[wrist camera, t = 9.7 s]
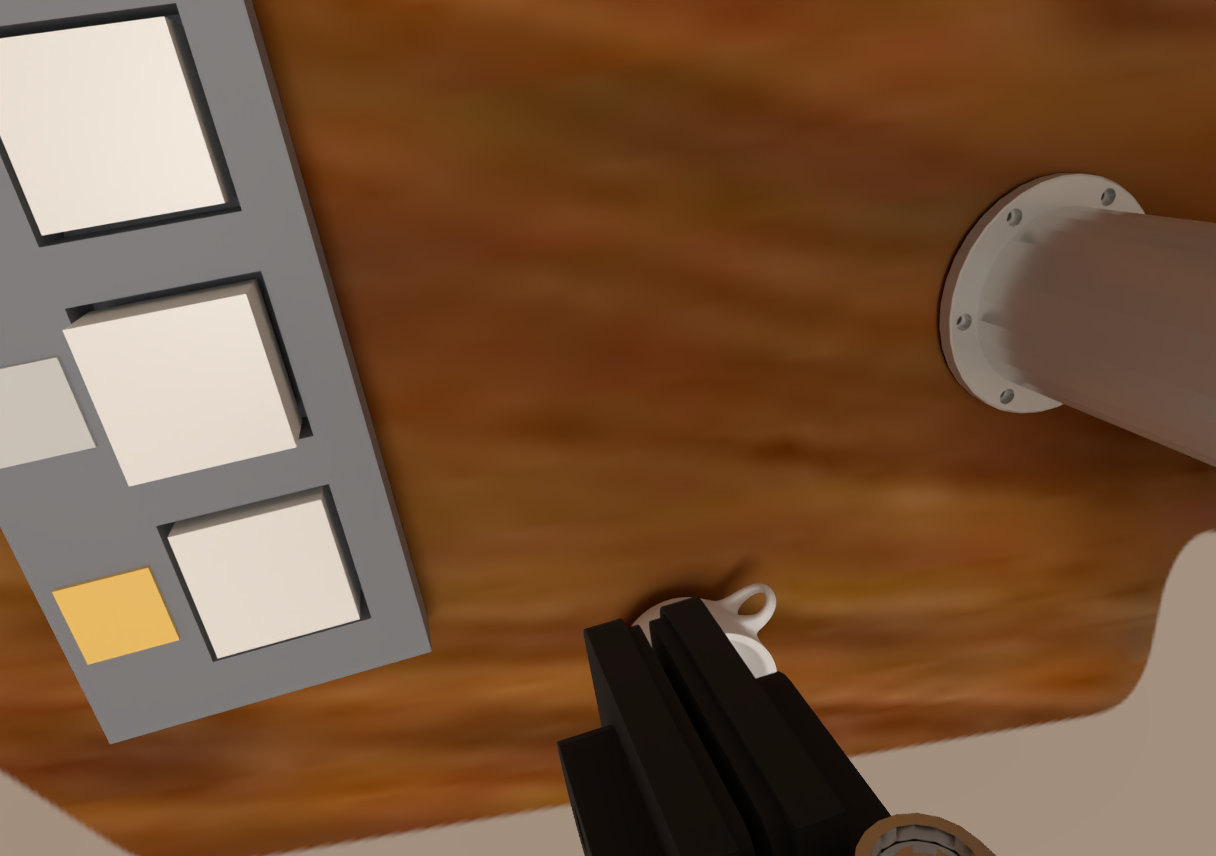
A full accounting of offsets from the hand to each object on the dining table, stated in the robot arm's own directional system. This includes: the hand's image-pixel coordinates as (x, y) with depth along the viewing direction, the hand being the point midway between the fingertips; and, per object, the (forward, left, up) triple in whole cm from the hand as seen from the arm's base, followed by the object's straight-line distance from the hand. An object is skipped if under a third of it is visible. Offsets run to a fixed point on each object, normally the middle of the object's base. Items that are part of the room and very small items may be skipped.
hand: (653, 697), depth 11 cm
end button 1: (+11, +9, -27) cm, 30 cm away
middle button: (+10, 0, -25) cm, 27 cm away
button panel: (+12, 0, -27) cm, 30 cm away
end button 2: (+10, -9, -27) cm, 30 cm away
